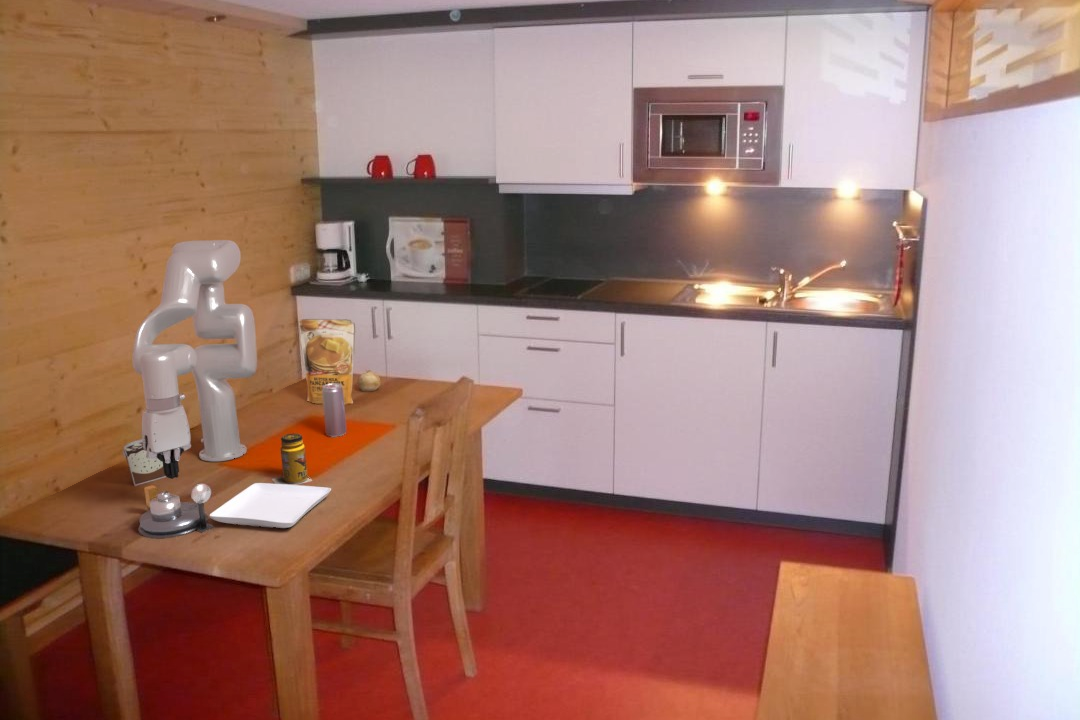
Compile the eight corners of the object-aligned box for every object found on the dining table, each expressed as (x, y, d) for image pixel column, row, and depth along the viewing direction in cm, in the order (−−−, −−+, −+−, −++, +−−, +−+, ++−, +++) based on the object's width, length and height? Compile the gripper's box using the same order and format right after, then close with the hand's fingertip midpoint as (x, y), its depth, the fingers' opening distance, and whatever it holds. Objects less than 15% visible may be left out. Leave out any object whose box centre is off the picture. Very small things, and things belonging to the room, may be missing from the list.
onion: (385, 389, 318) (384, 370, 316) (367, 394, 312) (365, 374, 311) (372, 385, 323) (370, 366, 322) (353, 390, 318) (351, 371, 316)
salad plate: (334, 498, 224) (333, 485, 224) (293, 535, 204) (291, 521, 204) (255, 494, 229) (254, 481, 228) (208, 529, 209) (206, 515, 208)
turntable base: (126, 527, 211) (126, 525, 211) (187, 506, 222) (187, 504, 222) (158, 544, 201) (158, 542, 201) (220, 521, 212) (220, 519, 212)
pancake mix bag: (309, 398, 310) (302, 317, 303) (362, 400, 306) (355, 318, 299) (300, 403, 304) (292, 321, 297) (353, 406, 299) (346, 322, 293)
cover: (146, 517, 210) (143, 494, 208) (172, 508, 214) (169, 486, 213) (160, 524, 205) (157, 501, 204) (187, 515, 210) (184, 492, 209)
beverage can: (327, 431, 274) (323, 383, 271) (347, 430, 275) (343, 382, 271) (324, 438, 268) (320, 389, 265) (345, 437, 269) (341, 388, 265)
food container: (166, 468, 247) (161, 433, 245) (175, 474, 243) (171, 438, 241) (119, 481, 239) (114, 445, 237) (128, 487, 235) (123, 450, 232)
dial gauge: (191, 530, 208) (185, 485, 205) (209, 523, 211) (203, 479, 208) (198, 533, 206) (192, 488, 203) (216, 527, 209) (210, 482, 207)
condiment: (313, 481, 236) (308, 437, 233) (280, 488, 231) (275, 443, 228) (303, 472, 242) (299, 429, 239) (271, 480, 237) (266, 436, 234)
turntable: (122, 519, 213) (118, 495, 212) (179, 501, 223) (176, 477, 222) (158, 540, 202) (155, 514, 200) (217, 519, 212) (213, 494, 210)
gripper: (184, 394, 223) (193, 465, 227) (124, 407, 212) (134, 482, 216) (200, 398, 218) (209, 471, 222) (139, 412, 207) (149, 489, 211)
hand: (172, 476), depth 219 cm, fingers closed
